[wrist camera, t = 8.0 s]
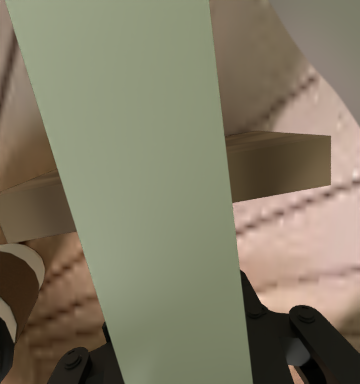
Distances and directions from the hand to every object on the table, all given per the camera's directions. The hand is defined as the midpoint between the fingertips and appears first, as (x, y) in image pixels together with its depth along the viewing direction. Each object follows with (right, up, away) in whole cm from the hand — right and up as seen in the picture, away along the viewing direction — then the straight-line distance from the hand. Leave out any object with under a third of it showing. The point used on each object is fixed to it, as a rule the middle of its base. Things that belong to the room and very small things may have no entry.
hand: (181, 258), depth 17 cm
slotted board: (-2, +8, +9) cm, 12 cm away
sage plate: (-1, +6, -1) cm, 6 cm away
